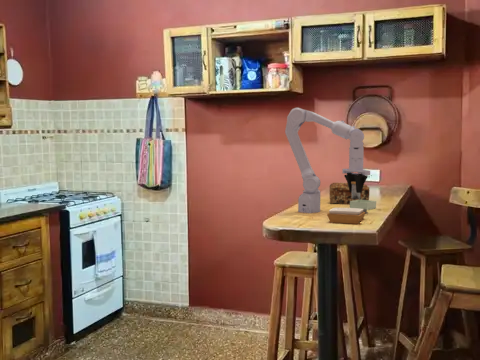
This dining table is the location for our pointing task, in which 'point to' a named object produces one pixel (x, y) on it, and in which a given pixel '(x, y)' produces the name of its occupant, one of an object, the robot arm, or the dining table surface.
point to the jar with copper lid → (354, 191)
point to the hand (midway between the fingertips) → (355, 192)
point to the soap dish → (346, 215)
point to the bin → (363, 204)
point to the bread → (345, 193)
